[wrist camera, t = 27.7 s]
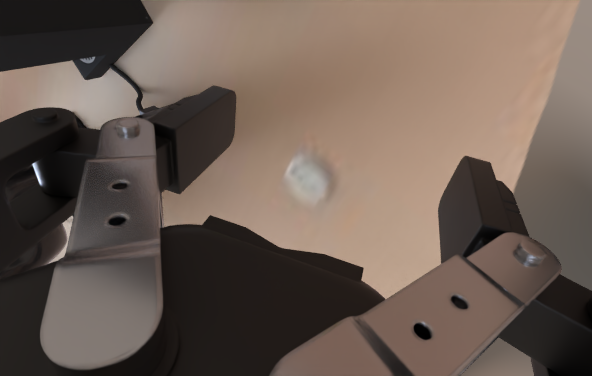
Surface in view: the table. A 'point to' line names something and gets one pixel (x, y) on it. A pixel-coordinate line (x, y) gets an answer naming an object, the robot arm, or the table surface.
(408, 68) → the table surface
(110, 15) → the coffee maker
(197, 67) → the table surface
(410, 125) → the table surface
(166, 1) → the table surface
